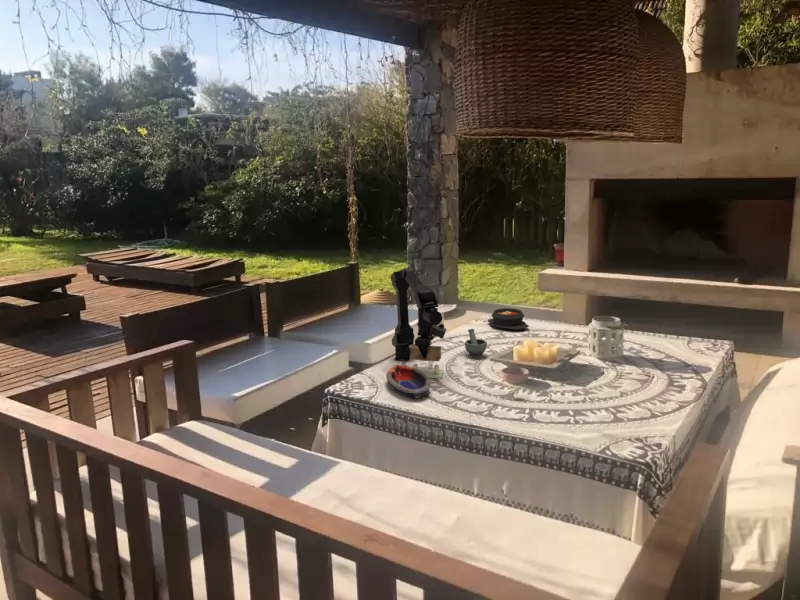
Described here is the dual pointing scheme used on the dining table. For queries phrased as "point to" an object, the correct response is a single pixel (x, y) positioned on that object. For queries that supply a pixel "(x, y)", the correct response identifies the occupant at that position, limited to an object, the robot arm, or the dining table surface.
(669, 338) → the dining table surface
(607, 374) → the dining table surface
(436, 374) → the strip
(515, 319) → the casserole
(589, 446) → the dining table surface
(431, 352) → the brown rectangular block
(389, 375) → the dish
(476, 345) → the mortar and pestle
